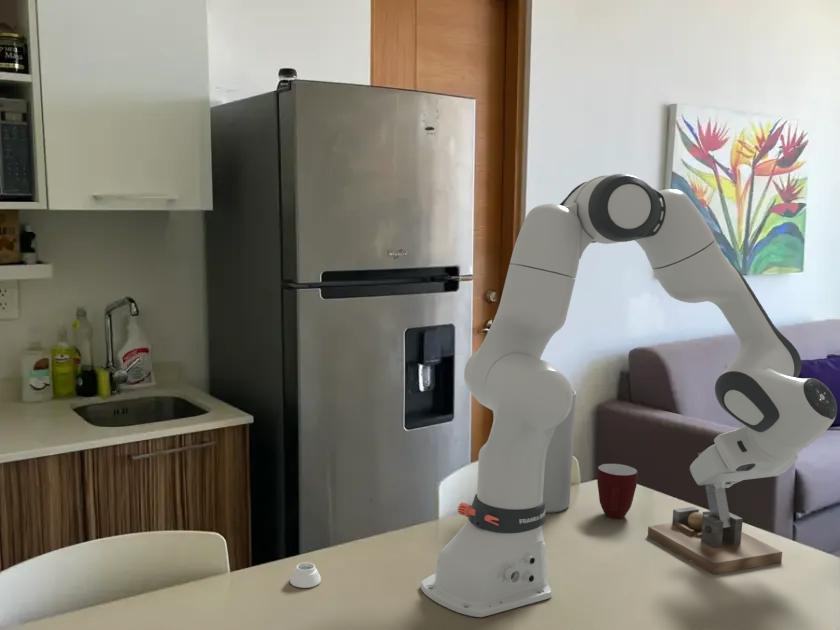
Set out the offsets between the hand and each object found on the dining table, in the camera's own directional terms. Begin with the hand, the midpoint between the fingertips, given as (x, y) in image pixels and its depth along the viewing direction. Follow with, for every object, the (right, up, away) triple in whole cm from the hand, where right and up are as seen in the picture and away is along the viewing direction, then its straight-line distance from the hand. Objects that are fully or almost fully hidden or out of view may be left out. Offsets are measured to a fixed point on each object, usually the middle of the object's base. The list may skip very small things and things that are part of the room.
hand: (720, 484), depth 151 cm
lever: (0, -8, 0) cm, 8 cm away
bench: (-1, -13, +2) cm, 13 cm away
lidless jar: (-75, -13, -17) cm, 78 cm away
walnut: (-2, -10, +6) cm, 12 cm away
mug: (-16, -11, +17) cm, 25 cm away
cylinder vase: (-30, -9, +24) cm, 40 cm away
